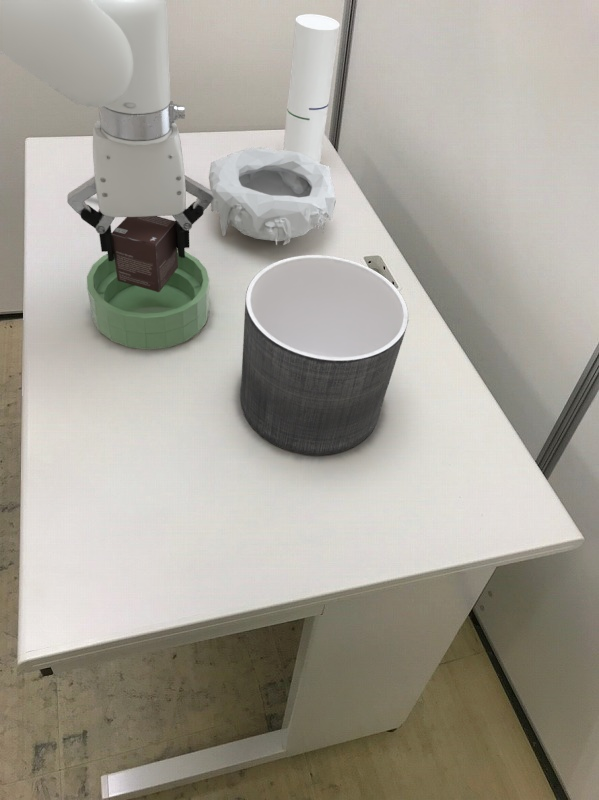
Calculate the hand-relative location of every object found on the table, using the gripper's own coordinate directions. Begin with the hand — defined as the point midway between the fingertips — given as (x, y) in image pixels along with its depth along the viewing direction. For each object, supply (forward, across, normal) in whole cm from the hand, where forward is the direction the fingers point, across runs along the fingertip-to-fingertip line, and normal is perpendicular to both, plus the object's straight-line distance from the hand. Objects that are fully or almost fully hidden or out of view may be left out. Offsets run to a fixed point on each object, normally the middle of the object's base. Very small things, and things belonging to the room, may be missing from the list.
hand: (146, 252), depth 81 cm
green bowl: (+10, 0, 0) cm, 10 cm away
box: (+4, 0, 0) cm, 4 cm away
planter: (+10, -18, +19) cm, 28 cm away
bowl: (+10, -21, -20) cm, 31 cm away
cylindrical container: (+10, -31, -39) cm, 51 cm away
